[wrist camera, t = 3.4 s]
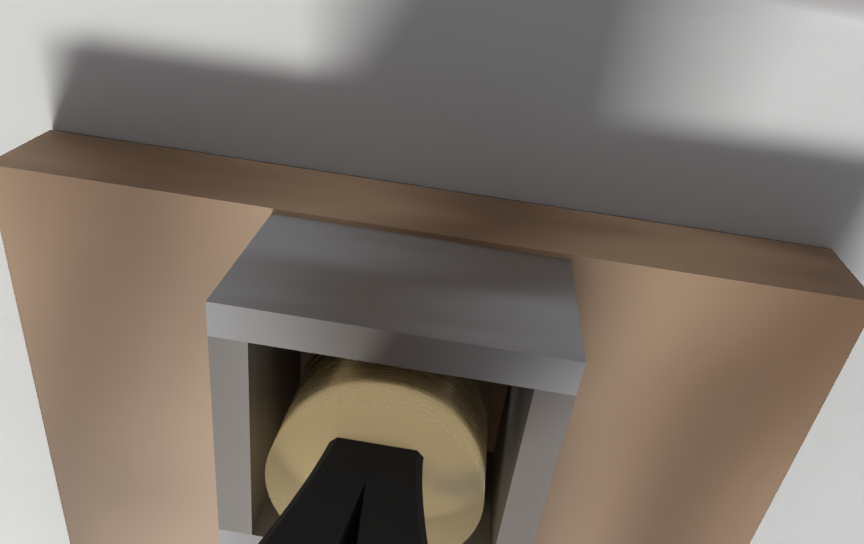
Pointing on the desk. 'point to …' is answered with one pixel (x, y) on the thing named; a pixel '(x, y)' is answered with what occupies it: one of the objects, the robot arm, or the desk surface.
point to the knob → (391, 434)
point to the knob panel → (405, 342)
